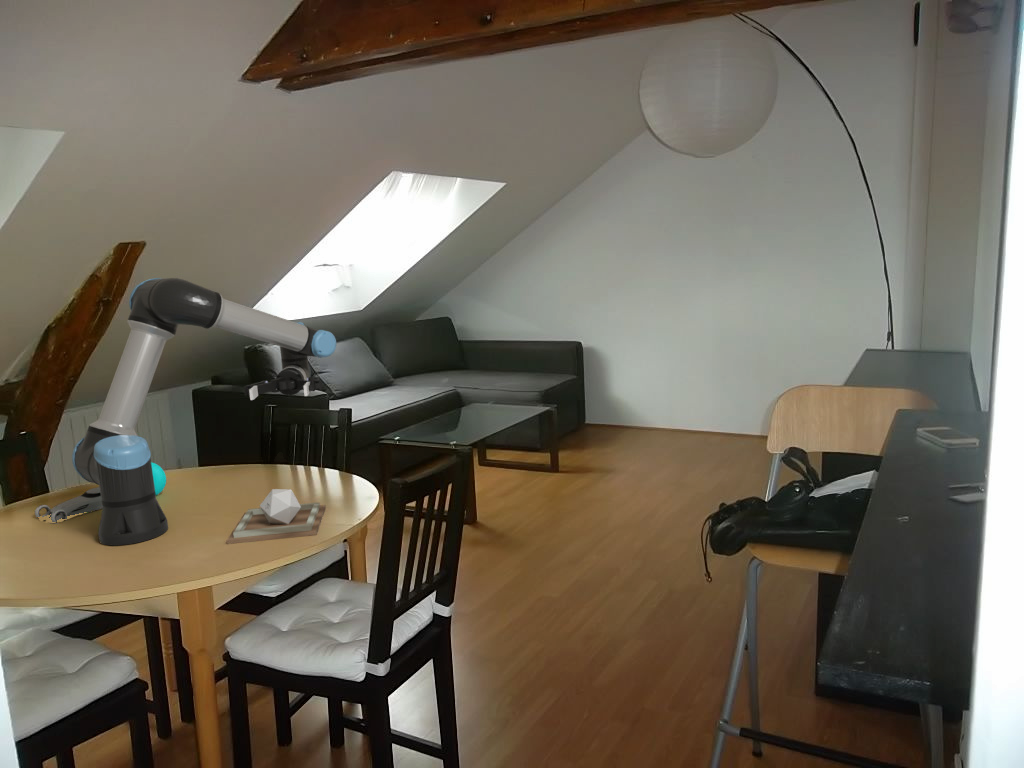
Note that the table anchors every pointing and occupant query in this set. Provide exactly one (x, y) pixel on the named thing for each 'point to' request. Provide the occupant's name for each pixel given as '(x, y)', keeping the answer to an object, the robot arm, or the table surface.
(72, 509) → the car model
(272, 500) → the die
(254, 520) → the dice tray
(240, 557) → the table surface
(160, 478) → the turquoise ball
